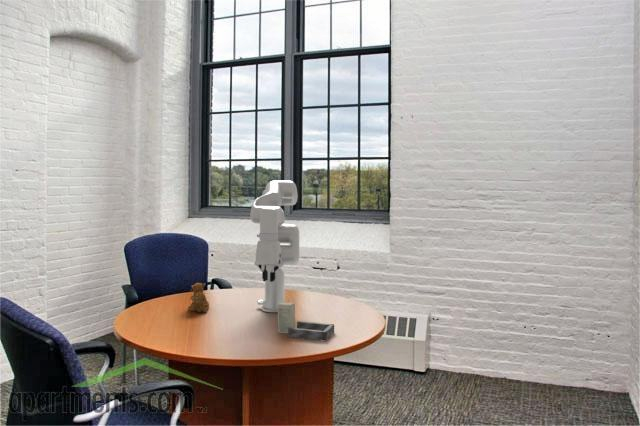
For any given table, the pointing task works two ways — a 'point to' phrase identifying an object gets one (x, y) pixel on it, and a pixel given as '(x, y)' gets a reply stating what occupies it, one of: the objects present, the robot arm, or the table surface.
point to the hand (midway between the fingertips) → (268, 280)
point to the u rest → (311, 330)
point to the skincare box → (286, 316)
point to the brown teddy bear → (198, 299)
